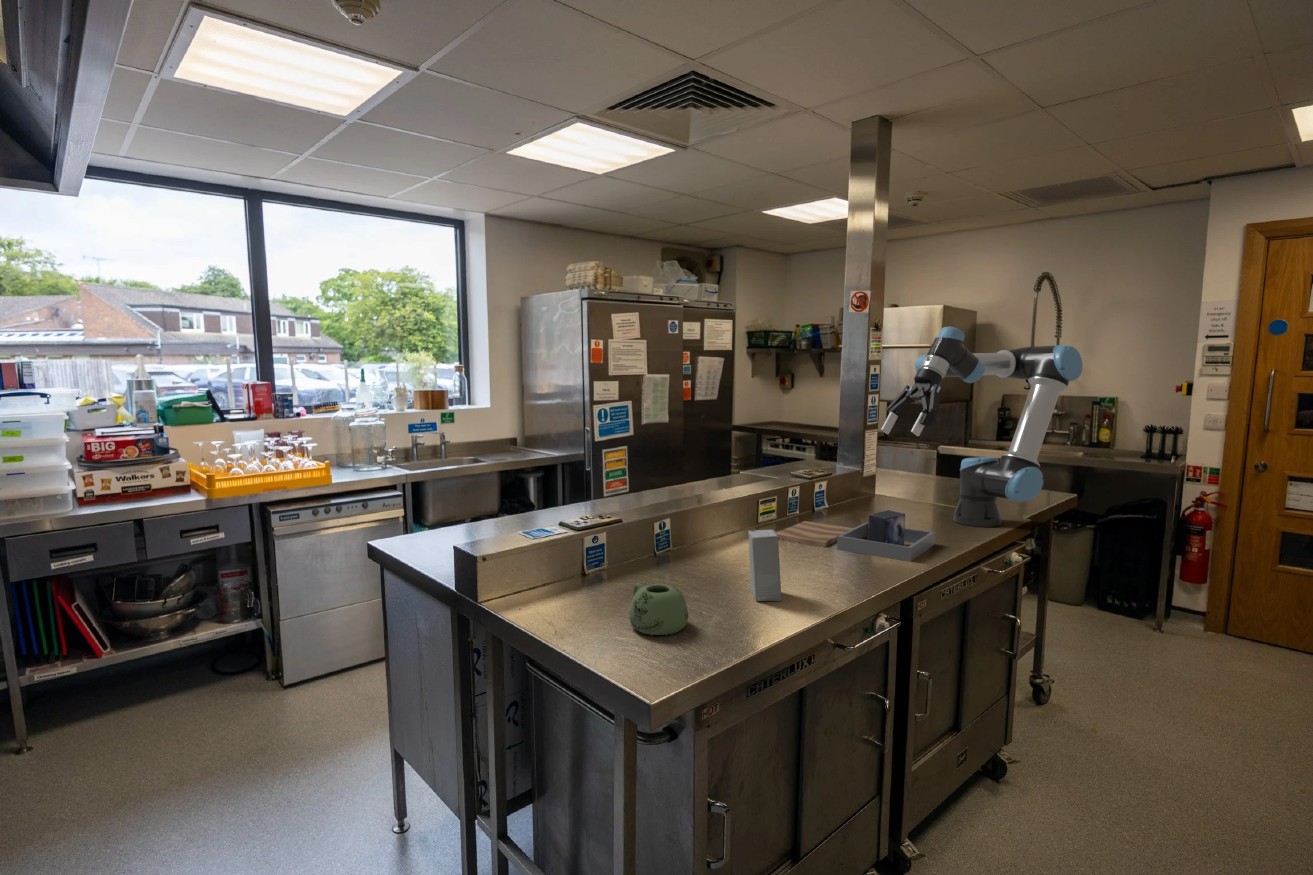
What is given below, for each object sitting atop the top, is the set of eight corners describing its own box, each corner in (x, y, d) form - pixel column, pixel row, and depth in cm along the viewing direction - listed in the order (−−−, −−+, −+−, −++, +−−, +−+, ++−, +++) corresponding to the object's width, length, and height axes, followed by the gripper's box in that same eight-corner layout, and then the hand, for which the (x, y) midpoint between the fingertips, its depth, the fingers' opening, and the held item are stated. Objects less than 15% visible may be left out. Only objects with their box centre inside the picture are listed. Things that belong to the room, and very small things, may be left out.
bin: (865, 534, 215) (865, 522, 215) (934, 544, 201) (934, 532, 201) (837, 549, 198) (837, 536, 198) (910, 561, 185) (910, 547, 184)
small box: (885, 552, 194) (885, 518, 193) (866, 548, 199) (867, 514, 198) (905, 546, 200) (906, 513, 199) (887, 542, 206) (887, 509, 205)
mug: (701, 628, 140) (700, 589, 139) (652, 644, 132) (651, 603, 131) (657, 607, 152) (656, 571, 152) (610, 620, 145) (609, 583, 144)
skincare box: (782, 601, 155) (782, 536, 153) (751, 602, 155) (751, 537, 153) (776, 589, 163) (776, 528, 161) (747, 590, 163) (747, 528, 162)
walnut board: (804, 525, 229) (804, 521, 229) (853, 532, 218) (853, 528, 218) (773, 538, 212) (773, 533, 212) (824, 547, 201) (824, 542, 201)
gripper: (895, 368, 209) (864, 425, 207) (953, 364, 185) (919, 427, 183) (911, 381, 211) (881, 437, 209) (970, 378, 188) (937, 441, 185)
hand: (899, 432), depth 196 cm, fingers open, 13 cm apart
